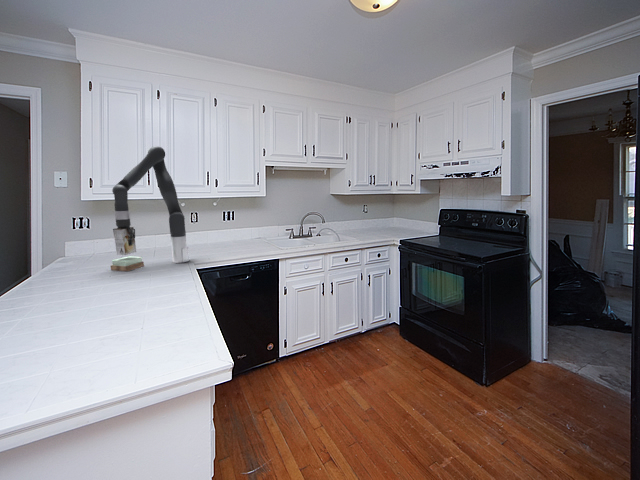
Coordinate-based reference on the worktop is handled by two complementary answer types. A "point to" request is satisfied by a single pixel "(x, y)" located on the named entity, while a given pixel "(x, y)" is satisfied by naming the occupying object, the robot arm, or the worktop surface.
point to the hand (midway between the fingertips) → (125, 245)
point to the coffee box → (123, 242)
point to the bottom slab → (127, 267)
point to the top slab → (126, 261)
